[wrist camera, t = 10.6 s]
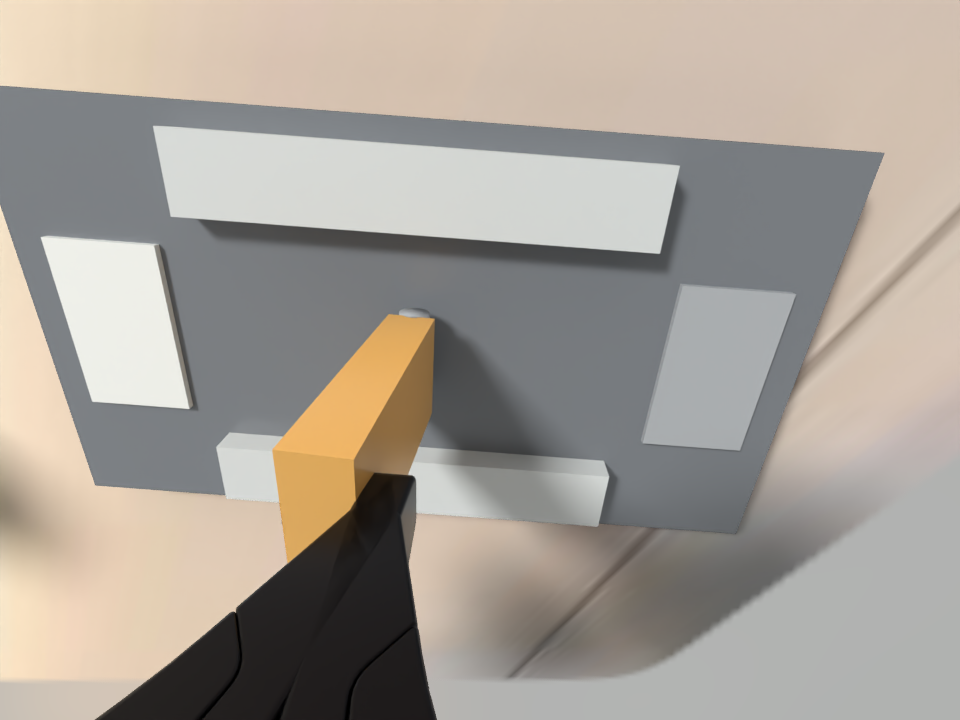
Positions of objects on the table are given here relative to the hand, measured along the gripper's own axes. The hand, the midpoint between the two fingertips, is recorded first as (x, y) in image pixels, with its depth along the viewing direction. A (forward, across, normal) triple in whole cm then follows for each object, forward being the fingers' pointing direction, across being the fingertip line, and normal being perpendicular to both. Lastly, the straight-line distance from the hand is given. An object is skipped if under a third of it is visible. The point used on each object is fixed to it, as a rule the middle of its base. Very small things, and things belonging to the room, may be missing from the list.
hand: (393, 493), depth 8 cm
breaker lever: (+5, +1, 0) cm, 5 cm away
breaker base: (+8, +1, 0) cm, 8 cm away
